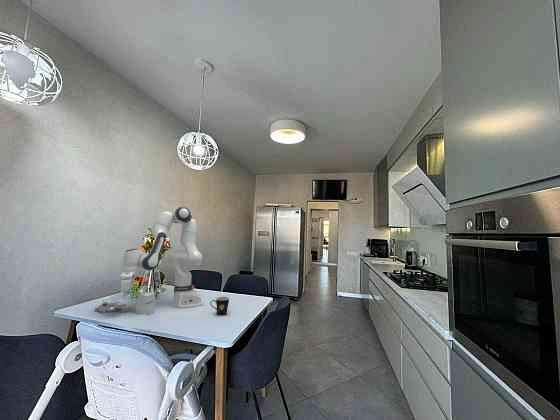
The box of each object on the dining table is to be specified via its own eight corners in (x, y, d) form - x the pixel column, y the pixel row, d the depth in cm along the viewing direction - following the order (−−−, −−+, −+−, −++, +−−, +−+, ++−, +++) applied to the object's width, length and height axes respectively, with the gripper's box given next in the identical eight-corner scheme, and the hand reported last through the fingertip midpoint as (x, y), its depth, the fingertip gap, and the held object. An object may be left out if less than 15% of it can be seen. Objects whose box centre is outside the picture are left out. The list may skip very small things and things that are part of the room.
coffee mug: (230, 312, 160) (231, 297, 161) (223, 316, 152) (224, 301, 153) (216, 310, 164) (217, 295, 165) (208, 314, 156) (209, 298, 157)
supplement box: (143, 316, 147) (145, 295, 148) (135, 314, 150) (137, 294, 151) (153, 313, 154) (155, 293, 155) (145, 311, 156) (147, 291, 158)
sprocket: (113, 303, 164) (114, 296, 164) (130, 307, 158) (131, 300, 159) (89, 310, 150) (90, 302, 150) (107, 314, 144) (108, 306, 144)
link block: (130, 312, 153) (131, 305, 153) (129, 314, 150) (130, 307, 150) (121, 313, 151) (122, 305, 151) (120, 315, 148) (121, 307, 148)
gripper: (127, 271, 161) (124, 292, 159) (119, 276, 142) (116, 300, 141) (137, 271, 163) (135, 292, 162) (131, 276, 144) (128, 299, 143)
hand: (126, 296), depth 151 cm, fingers open, 8 cm apart
